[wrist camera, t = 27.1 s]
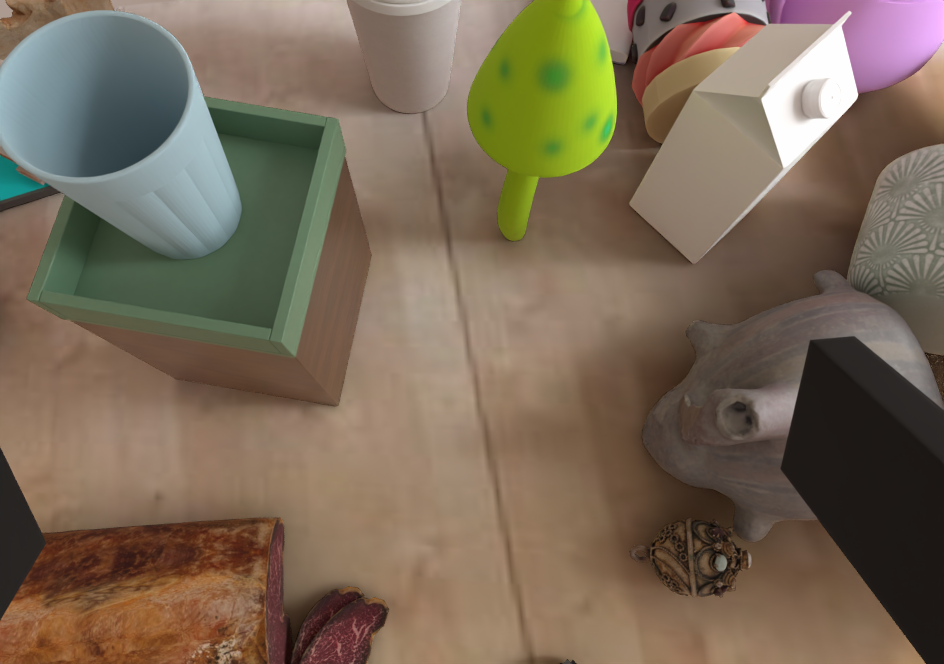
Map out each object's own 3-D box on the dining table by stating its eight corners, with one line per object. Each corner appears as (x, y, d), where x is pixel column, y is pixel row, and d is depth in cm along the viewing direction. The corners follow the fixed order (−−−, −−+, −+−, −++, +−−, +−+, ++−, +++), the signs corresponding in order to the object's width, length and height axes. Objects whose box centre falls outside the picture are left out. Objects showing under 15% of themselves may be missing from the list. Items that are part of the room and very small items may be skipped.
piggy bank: (650, 557, 46) (681, 421, 36) (620, 383, 58) (637, 246, 48) (929, 558, 44) (1036, 418, 35) (839, 380, 56) (902, 239, 47)
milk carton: (626, 205, 55) (718, 43, 36) (685, 152, 56) (801, -29, 38) (692, 266, 53) (821, 130, 35) (750, 210, 55) (903, 52, 37)
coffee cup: (491, 80, 57) (507, -71, 43) (411, 151, 55) (399, 18, 41) (410, 12, 59) (399, -155, 44) (329, 79, 57) (290, -74, 42)
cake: (746, 147, 57) (719, -7, 60) (818, 71, 47) (781, -110, 50) (623, 150, 56) (603, -7, 59) (670, 73, 46) (642, -111, 49)
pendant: (756, 618, 43) (755, 555, 41) (631, 611, 45) (624, 551, 43) (747, 561, 47) (746, 502, 45) (634, 557, 49) (628, 501, 47)
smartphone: (-48, 133, 53) (144, 77, 55) (-40, 139, 54) (149, 83, 56) (-30, 214, 51) (168, 153, 53) (-23, 219, 52) (172, 158, 54)
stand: (372, 254, 52) (344, 151, 38) (338, 406, 49) (294, 356, 35) (219, 229, 53) (134, 116, 38) (175, 378, 49) (63, 317, 35)
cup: (140, 304, 35) (17, 212, 25) (96, 180, 36) (-36, 47, 26) (282, 247, 36) (220, 137, 26) (232, 130, 38) (156, -16, 28)
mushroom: (583, 209, 54) (694, -44, 30) (539, 298, 52) (621, 100, 28) (489, 165, 55) (524, -115, 31) (441, 251, 53) (440, 20, 29)
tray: (346, 150, 38) (338, 118, 35) (295, 358, 35) (281, 342, 32) (132, 114, 38) (106, 79, 35) (61, 319, 35) (25, 299, 32)
